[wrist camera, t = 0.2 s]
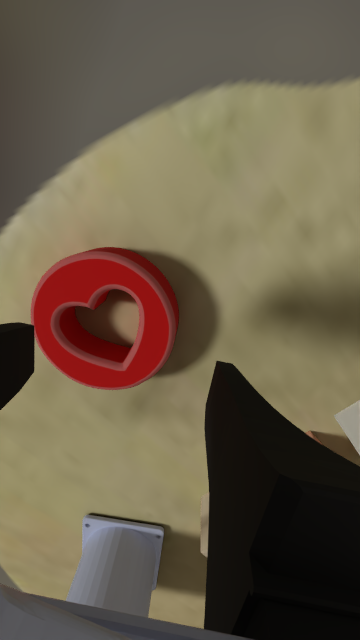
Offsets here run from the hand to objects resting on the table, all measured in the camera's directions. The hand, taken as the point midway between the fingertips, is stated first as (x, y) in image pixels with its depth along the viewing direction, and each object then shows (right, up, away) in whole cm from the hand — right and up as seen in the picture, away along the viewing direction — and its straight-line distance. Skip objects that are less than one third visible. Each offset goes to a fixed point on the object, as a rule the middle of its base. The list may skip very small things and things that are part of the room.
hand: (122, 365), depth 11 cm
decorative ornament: (-3, +2, +10) cm, 11 cm away
